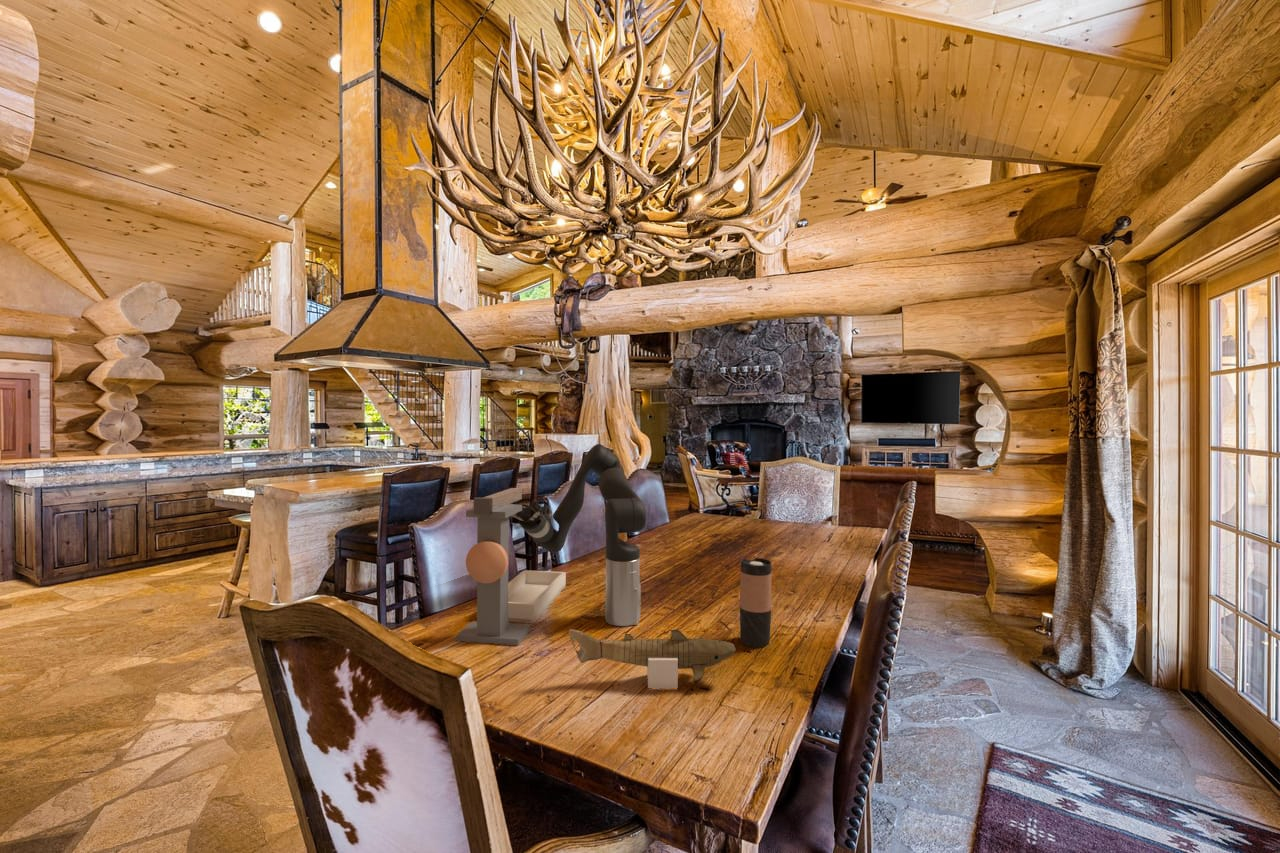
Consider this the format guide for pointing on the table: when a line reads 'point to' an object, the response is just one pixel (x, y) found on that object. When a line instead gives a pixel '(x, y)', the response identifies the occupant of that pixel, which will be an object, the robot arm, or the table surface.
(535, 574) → the off-white tray
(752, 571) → the travel mug
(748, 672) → the table surface
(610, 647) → the wood carving
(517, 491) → the grey brown long block
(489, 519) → the stand
